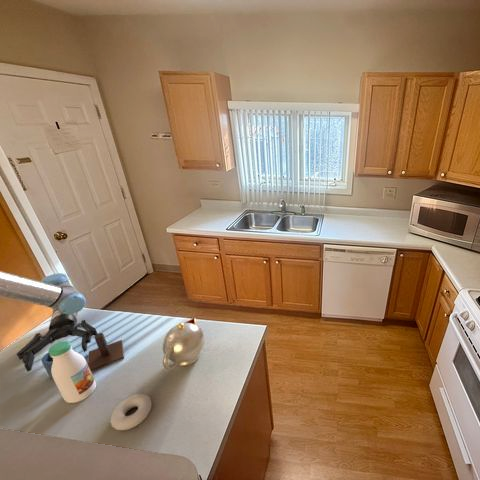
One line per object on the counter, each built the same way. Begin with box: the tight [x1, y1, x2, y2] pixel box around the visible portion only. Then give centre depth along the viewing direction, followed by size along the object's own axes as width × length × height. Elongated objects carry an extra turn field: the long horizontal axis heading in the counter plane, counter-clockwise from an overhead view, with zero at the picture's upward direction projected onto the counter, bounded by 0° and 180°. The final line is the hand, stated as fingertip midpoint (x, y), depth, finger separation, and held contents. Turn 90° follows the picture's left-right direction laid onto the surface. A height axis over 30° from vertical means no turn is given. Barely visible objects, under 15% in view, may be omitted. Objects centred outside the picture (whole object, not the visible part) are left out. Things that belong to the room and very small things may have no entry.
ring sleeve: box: [41, 352, 54, 381], centre depth 87 cm, size 7×7×8 cm
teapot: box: [162, 317, 206, 372], centre depth 91 cm, size 18×14×16 cm
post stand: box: [87, 332, 125, 372], centre depth 93 cm, size 10×10×10 cm
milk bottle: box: [47, 340, 97, 404], centre depth 78 cm, size 8×8×20 cm
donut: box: [110, 393, 152, 432], centre depth 76 cm, size 10×4×10 cm
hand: (57, 358), depth 85 cm, fingers open, 13 cm apart
